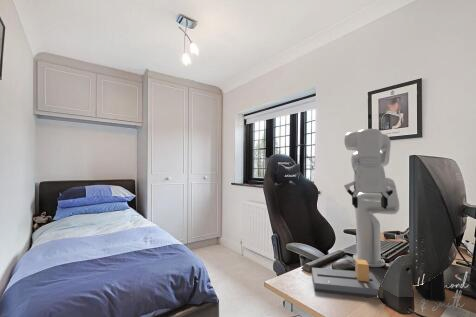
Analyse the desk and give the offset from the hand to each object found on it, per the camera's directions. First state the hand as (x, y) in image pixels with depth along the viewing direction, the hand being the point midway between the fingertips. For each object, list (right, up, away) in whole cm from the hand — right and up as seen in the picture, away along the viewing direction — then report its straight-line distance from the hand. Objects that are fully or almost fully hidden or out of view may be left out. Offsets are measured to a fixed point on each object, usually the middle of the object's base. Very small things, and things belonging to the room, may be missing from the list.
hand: (369, 207), depth 88 cm
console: (-10, -28, -2) cm, 30 cm away
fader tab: (-4, -27, -3) cm, 27 cm away
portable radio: (+16, -28, -9) cm, 34 cm away
